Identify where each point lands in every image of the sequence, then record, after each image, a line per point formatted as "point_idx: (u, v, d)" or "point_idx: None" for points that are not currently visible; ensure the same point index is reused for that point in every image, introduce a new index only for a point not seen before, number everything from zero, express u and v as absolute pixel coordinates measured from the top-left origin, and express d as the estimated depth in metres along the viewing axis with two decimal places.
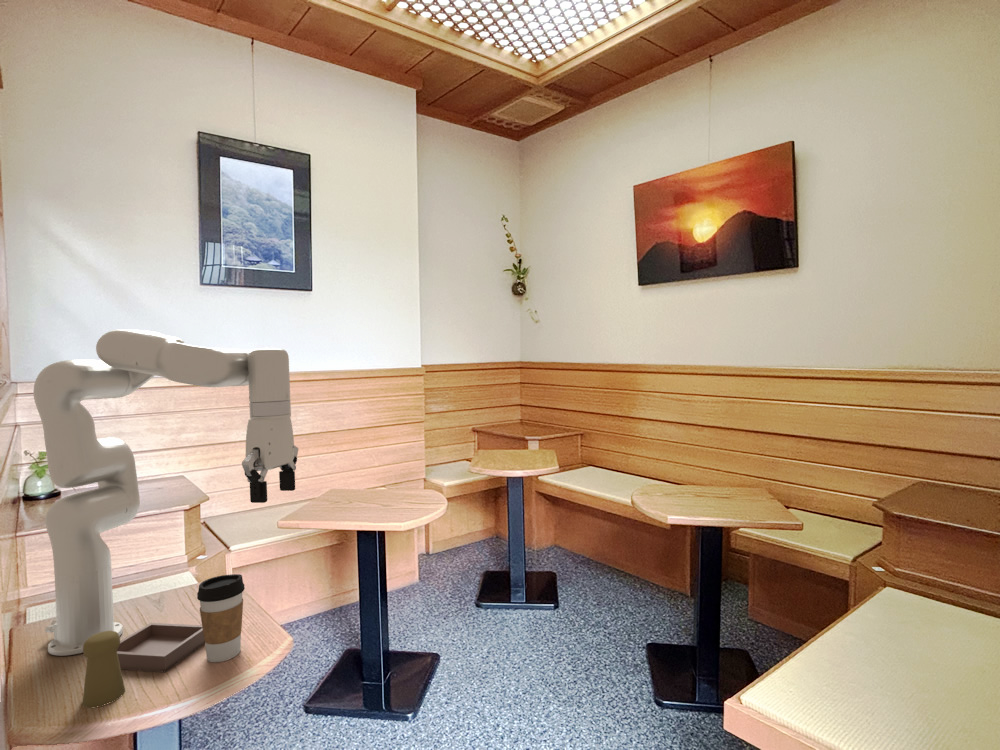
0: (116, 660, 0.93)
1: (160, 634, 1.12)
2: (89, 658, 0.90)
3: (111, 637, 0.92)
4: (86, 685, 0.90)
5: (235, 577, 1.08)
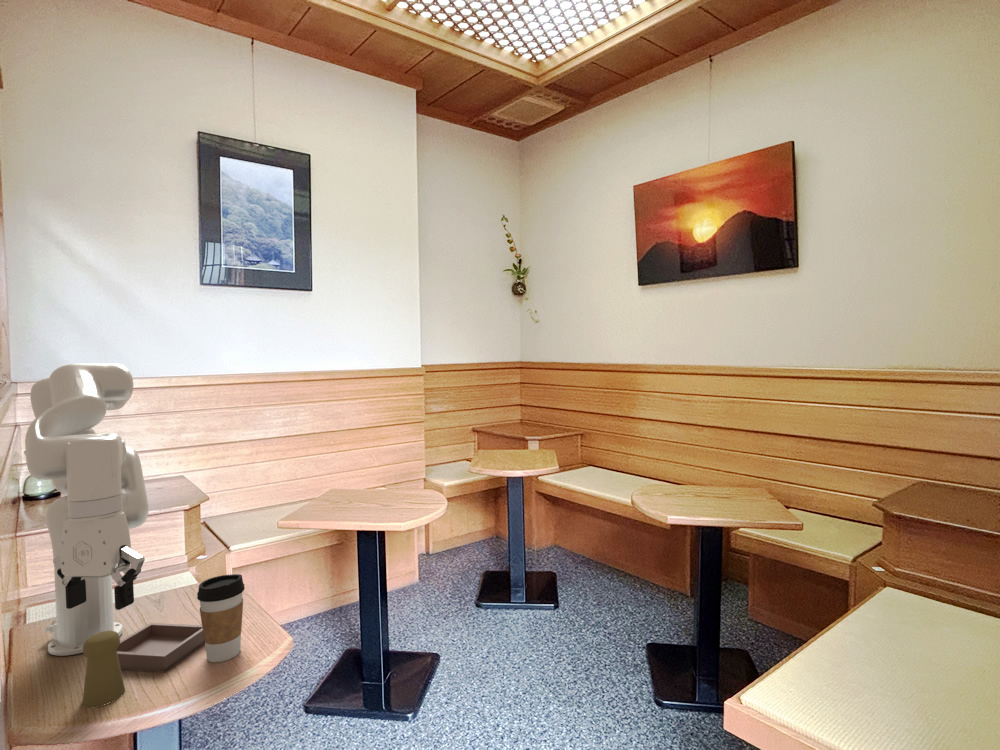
0: (116, 660, 0.93)
1: (160, 634, 1.12)
2: (89, 658, 0.90)
3: (111, 637, 0.92)
4: (86, 685, 0.90)
5: (235, 577, 1.08)
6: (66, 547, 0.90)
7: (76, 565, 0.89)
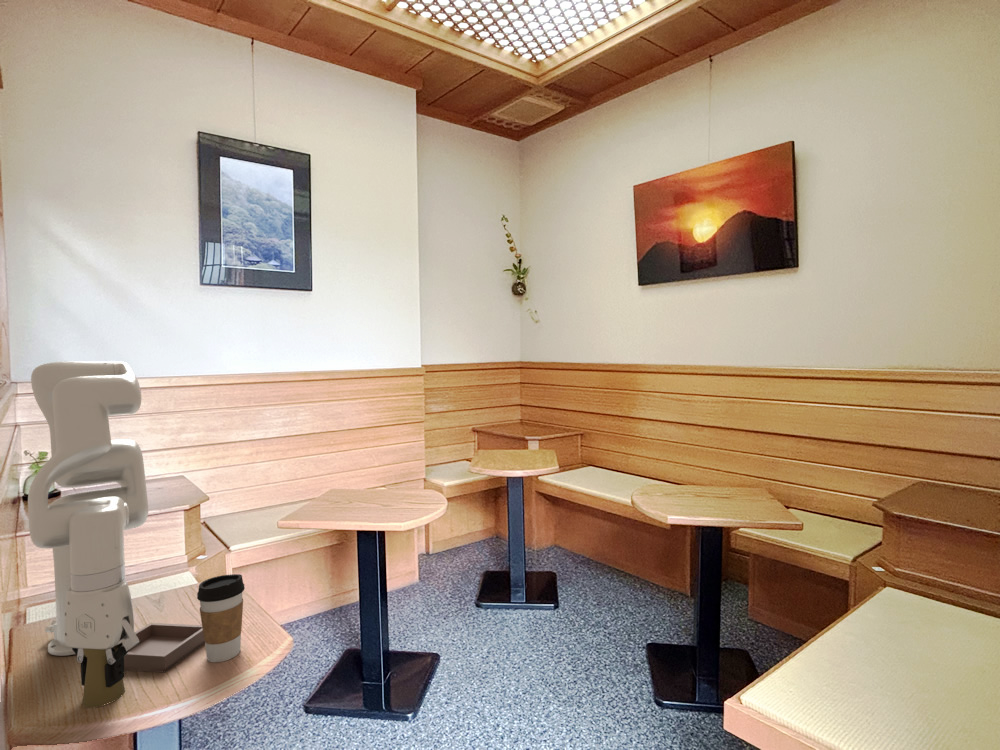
0: None
1: (160, 634, 1.12)
2: (89, 658, 0.90)
3: None
4: (86, 685, 0.90)
5: (235, 577, 1.08)
6: (69, 619, 0.90)
7: (79, 637, 0.90)
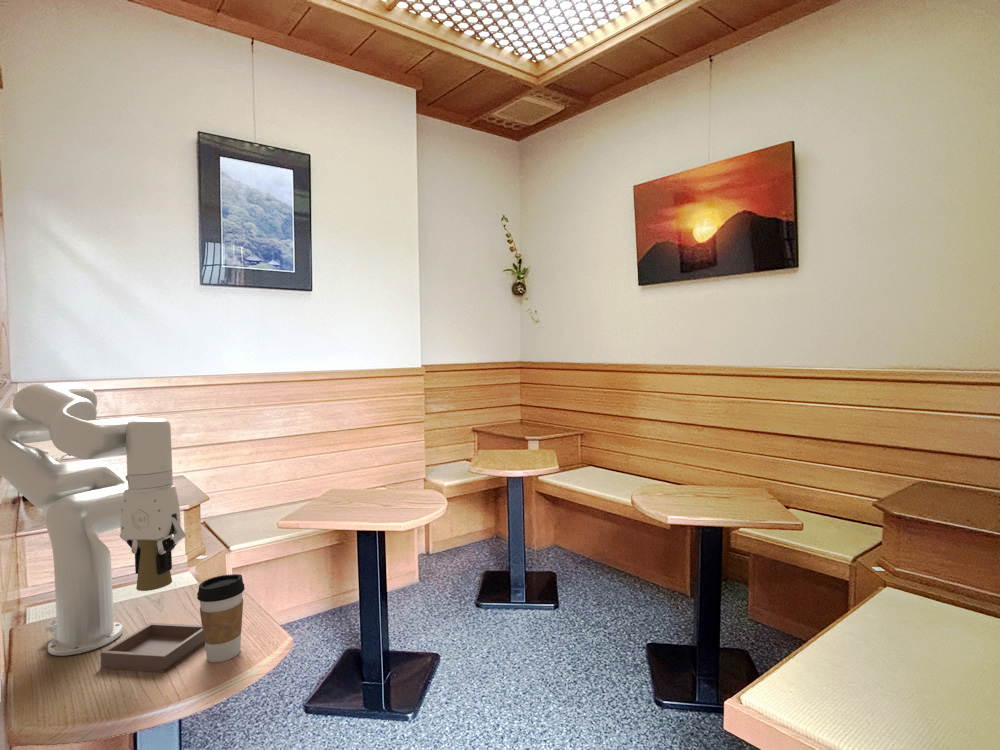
0: None
1: (160, 634, 1.12)
2: (143, 548, 1.03)
3: None
4: (140, 572, 1.03)
5: (235, 577, 1.08)
6: (125, 514, 1.03)
7: (134, 530, 1.03)
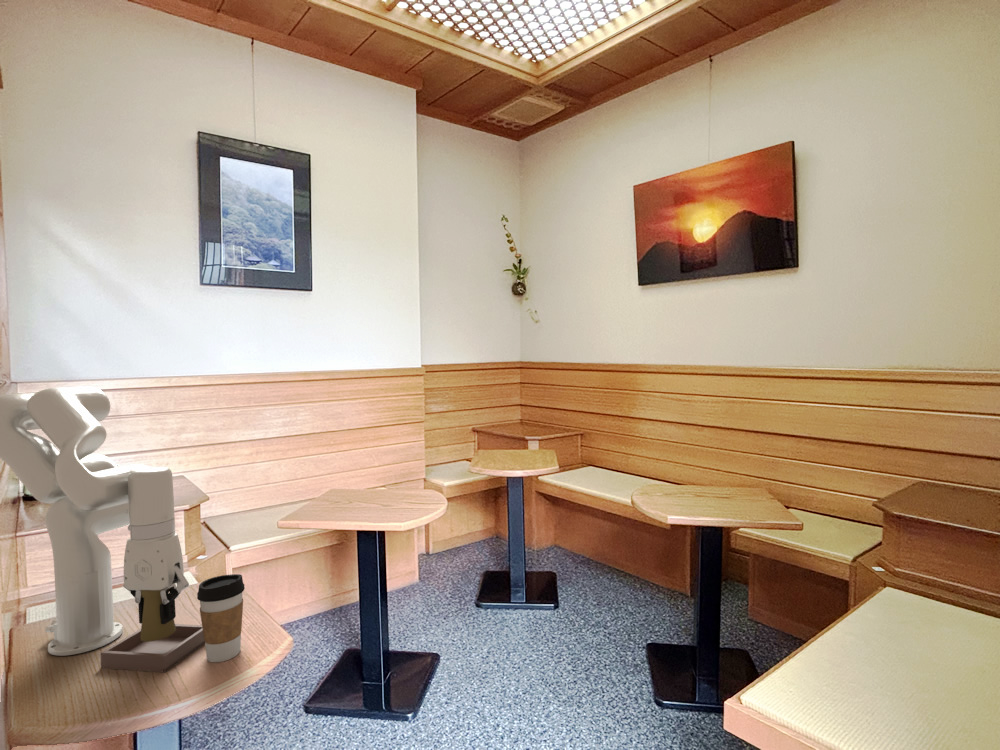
0: None
1: None
2: (146, 598, 1.03)
3: None
4: (144, 622, 1.03)
5: (235, 577, 1.08)
6: (128, 564, 1.03)
7: (137, 580, 1.03)
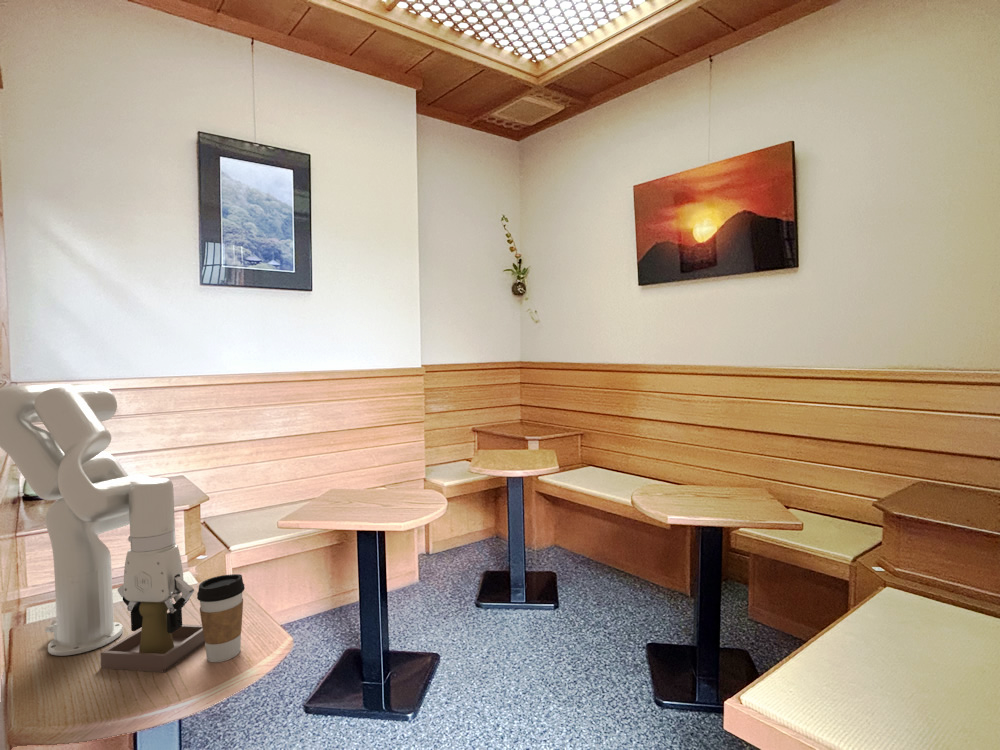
0: None
1: None
2: (145, 616, 1.04)
3: None
4: (142, 640, 1.04)
5: (235, 577, 1.08)
6: (128, 576, 1.04)
7: (137, 592, 1.03)
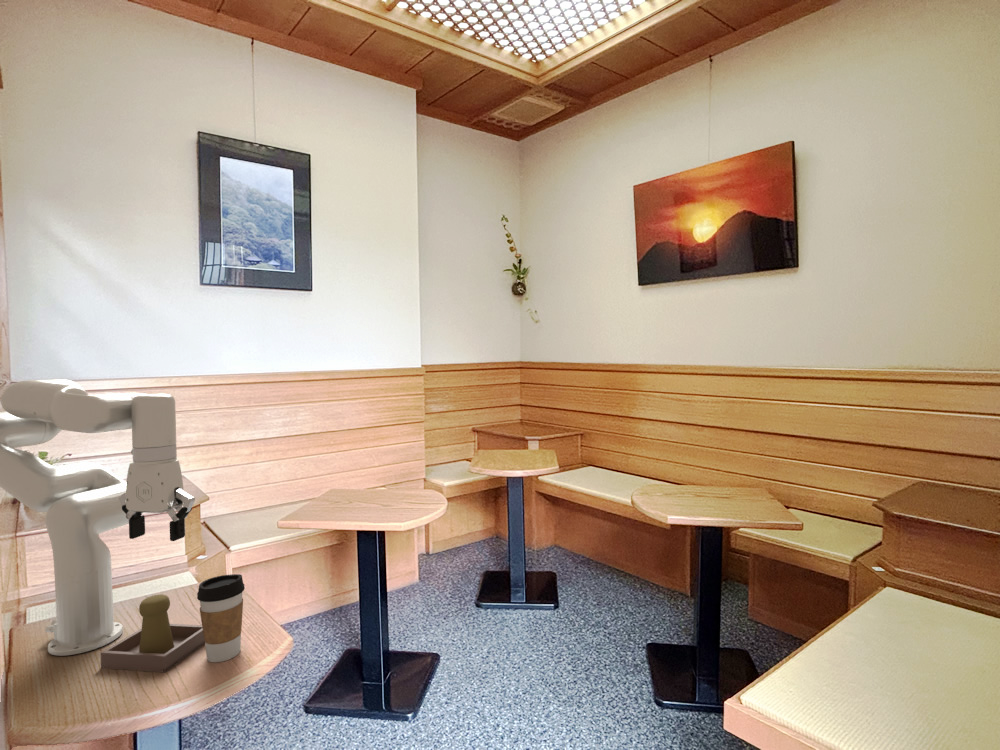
0: (167, 619, 1.06)
1: None
2: (145, 616, 1.04)
3: (163, 599, 1.05)
4: (142, 640, 1.04)
5: (235, 577, 1.08)
6: (130, 486, 1.06)
7: (138, 502, 1.05)
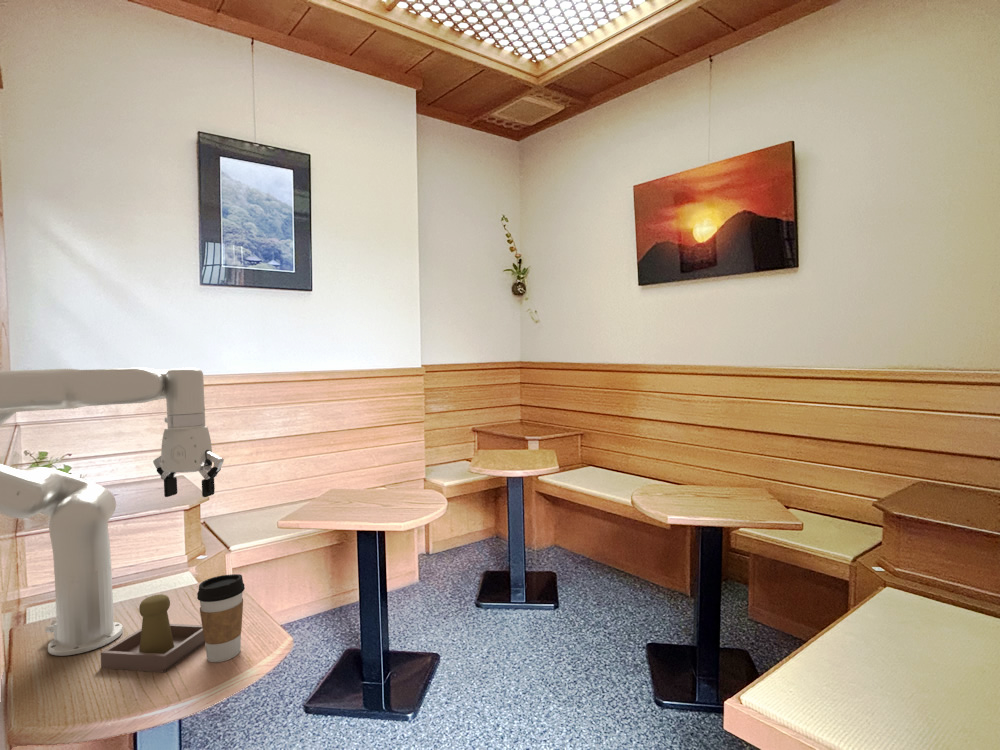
0: (167, 619, 1.06)
1: None
2: (145, 616, 1.04)
3: (163, 599, 1.05)
4: (142, 640, 1.04)
5: (236, 577, 1.08)
6: (165, 449, 1.19)
7: (173, 463, 1.19)
